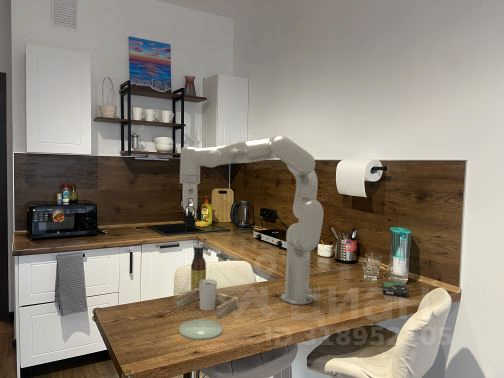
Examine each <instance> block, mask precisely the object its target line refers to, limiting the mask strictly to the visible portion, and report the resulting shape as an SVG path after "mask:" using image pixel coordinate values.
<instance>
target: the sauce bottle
mask: <svg viewBox="0 0 504 378" xmlns="http://www.w3.org/2000/svg"><path fill="white" fill-rule="evenodd" d="M204 249H205V247H204V246H203V245H194V246H193V251H194V252H193V259H192V262H191V264H190V291H192V290H194V289H196V288H197V289H199V281H201V280H204V279H207V262H206V260H205V257H204Z"/></svg>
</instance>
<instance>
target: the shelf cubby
mask: <svg viewBox="0 0 504 378" xmlns="http://www.w3.org/2000/svg"><path fill="white" fill-rule="evenodd" d="M195 299H200V298H199V289H197V288H196V289H194V290H192V291H191V290H189V291H188V292H185V293H183V294H182V293H181V294H180V295H178V296H175V300H174V301H175V304H174V305H175V307H174V308H175V309H180V308H182V307H185V306H186V305H188V304H190V302H191V303H193V302H194V301H193V300H195ZM192 301H193V302H192ZM195 301H196V300H195ZM187 303H188V304H187ZM185 304H186V305H185ZM218 304H219V305H218ZM215 305H218V306H215V309H216V310H215V319H216V320H220V319H222V318H224V317H225V316H227V315H228V314H230V313H232V312H233V311H235V310H237V309H239V297H238V296H232V295H228V294H223V293H219V292H216V301H215ZM226 314H227V315H226Z"/></svg>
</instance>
